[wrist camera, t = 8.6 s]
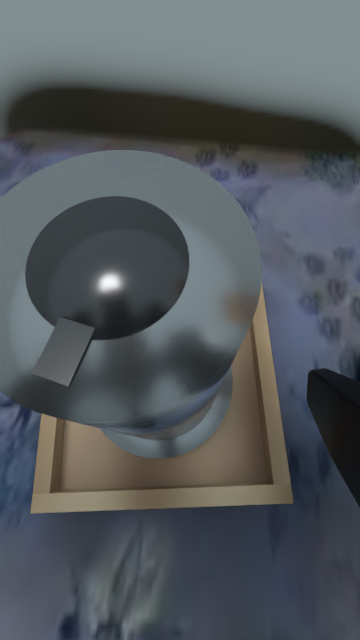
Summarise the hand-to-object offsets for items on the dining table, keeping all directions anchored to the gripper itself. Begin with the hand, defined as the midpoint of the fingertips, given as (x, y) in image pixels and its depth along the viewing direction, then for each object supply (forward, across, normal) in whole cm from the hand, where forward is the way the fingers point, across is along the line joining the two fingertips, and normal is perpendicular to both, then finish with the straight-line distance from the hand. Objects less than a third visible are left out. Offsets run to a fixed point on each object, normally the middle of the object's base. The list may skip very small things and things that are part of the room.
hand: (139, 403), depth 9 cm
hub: (+9, 0, +5) cm, 10 cm away
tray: (+10, 0, +6) cm, 11 cm away
